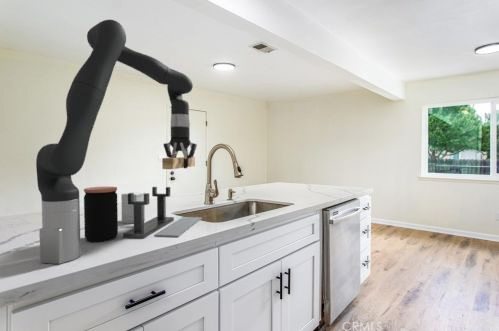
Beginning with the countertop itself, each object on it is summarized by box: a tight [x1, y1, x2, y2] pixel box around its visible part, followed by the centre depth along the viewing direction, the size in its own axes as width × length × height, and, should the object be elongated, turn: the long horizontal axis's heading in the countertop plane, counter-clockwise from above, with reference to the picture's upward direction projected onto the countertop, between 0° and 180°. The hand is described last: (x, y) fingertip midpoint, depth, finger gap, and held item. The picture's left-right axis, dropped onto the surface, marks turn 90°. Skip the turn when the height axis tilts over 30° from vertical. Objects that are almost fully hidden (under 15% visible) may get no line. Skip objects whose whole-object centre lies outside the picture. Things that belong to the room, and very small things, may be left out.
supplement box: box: [120, 191, 146, 224], centre depth 132 cm, size 7×7×13 cm
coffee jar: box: [83, 186, 119, 243], centre depth 106 cm, size 11×11×18 cm
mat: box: [154, 216, 202, 238], centre depth 124 cm, size 30×9×1 cm, turn 173°
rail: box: [161, 156, 196, 170], centre depth 122 cm, size 26×4×4 cm, turn 173°
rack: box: [122, 186, 175, 239], centre depth 121 cm, size 28×8×16 cm, turn 173°
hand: (180, 168), depth 122 cm, fingers closed on rail, 4 cm apart
